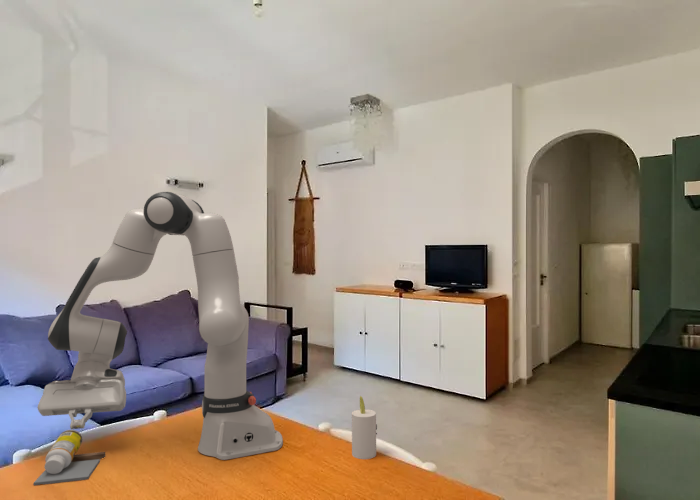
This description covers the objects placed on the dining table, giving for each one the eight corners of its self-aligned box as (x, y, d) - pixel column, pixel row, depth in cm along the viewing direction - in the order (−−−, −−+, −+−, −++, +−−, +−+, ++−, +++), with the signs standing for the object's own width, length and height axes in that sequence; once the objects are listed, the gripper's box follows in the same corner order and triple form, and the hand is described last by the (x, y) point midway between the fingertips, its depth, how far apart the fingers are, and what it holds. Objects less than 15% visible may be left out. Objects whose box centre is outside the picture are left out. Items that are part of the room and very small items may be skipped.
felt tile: (99, 461, 115) (100, 459, 115) (87, 479, 105) (87, 476, 105) (50, 466, 112) (50, 464, 112) (33, 485, 103) (33, 482, 103)
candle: (380, 457, 116) (380, 397, 117) (356, 460, 114) (355, 400, 115) (372, 447, 122) (371, 391, 123) (349, 450, 120) (348, 393, 121)
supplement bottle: (74, 450, 117) (55, 481, 107) (55, 438, 115) (34, 468, 106) (88, 436, 117) (71, 465, 107) (69, 424, 115) (50, 453, 105)
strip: (105, 456, 118) (105, 451, 118) (103, 458, 117) (103, 454, 117) (53, 461, 115) (53, 456, 115) (50, 464, 114) (50, 459, 114)
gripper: (43, 375, 121) (26, 425, 111) (127, 370, 125) (118, 418, 116) (49, 387, 125) (33, 437, 115) (131, 383, 130) (122, 430, 120)
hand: (76, 427), depth 115 cm, fingers closed
